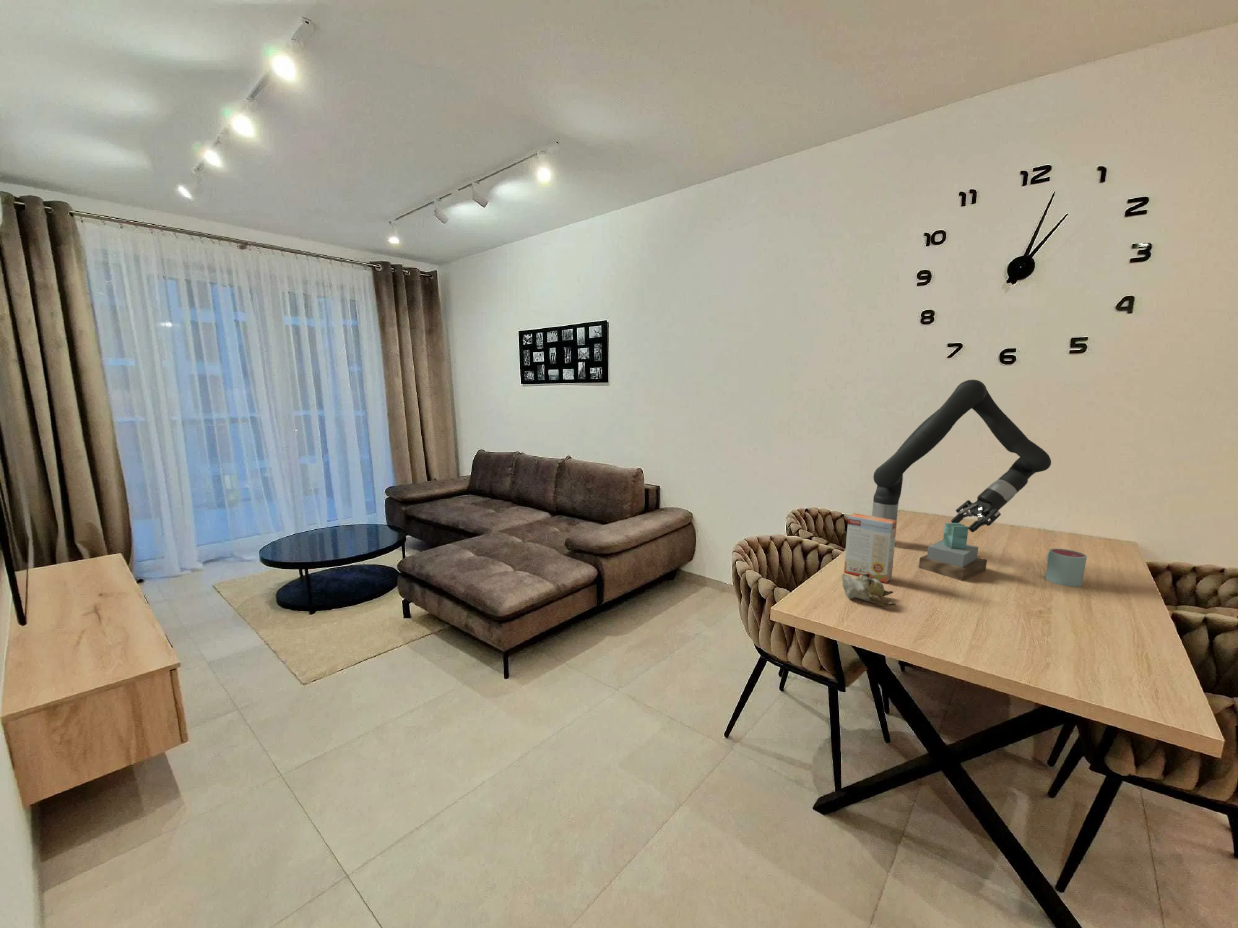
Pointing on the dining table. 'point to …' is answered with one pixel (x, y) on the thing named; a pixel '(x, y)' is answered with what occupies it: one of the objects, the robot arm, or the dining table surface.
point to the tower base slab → (953, 568)
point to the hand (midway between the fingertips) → (961, 526)
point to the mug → (1065, 567)
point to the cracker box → (870, 546)
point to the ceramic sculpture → (866, 589)
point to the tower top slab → (952, 554)
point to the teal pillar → (955, 535)
